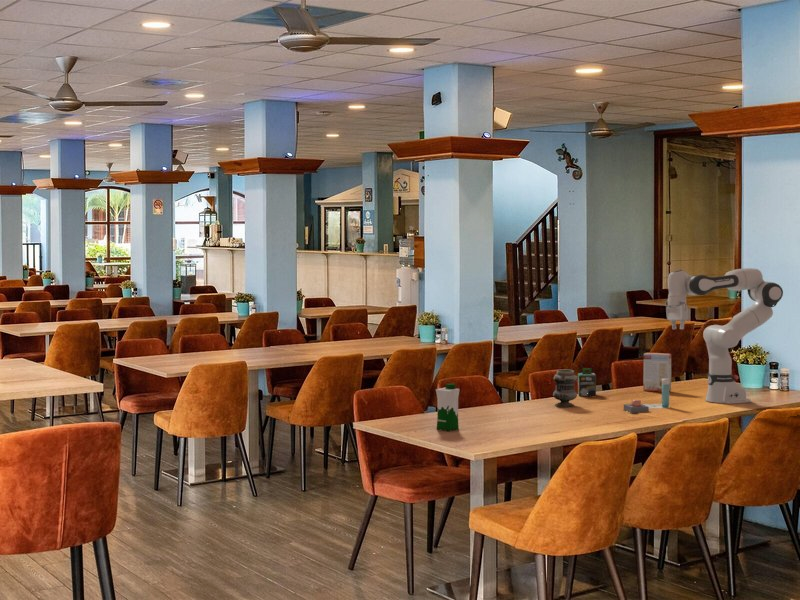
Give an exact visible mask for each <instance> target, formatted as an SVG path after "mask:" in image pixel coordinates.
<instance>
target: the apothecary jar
mask: <svg viewBox="0 0 800 600" xmlns="http://www.w3.org/2000/svg"><path fill="white" fill-rule="evenodd" d="M553 380H554V382H555V390H553V393H552V396H553V397H554V399H555V400H558V401H560V402H557V403H555V404H554V406H555V407H558V408H574V407H575V404H574V403H572V402H570V401H573V400H575V399H576V398H577V397H578V392H577V391H576V390H575V388H576V387H575V386H576V385H575V383H576V382H578V375H576V374H575V370H573V369H564V368H563V369H557V370H556V373H555V374H554V375H553Z"/></svg>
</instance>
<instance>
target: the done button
mask: <svg viewBox="0 0 800 600" xmlns="http://www.w3.org/2000/svg"><path fill="white" fill-rule="evenodd" d="M630 404H631V406H633V407H636V406H641V404H642V400H640V399H632V400H631V402H630Z"/></svg>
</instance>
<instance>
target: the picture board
mask: <svg viewBox="0 0 800 600" xmlns="http://www.w3.org/2000/svg"><path fill="white" fill-rule="evenodd" d="M643 405H645V406H648V407H649V410H651V409H653V410H654V409H664V408H663V407H662V403H643ZM667 409H672V407H670V406H669V407H668V408H667Z"/></svg>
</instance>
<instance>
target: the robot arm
mask: <svg viewBox="0 0 800 600" xmlns="http://www.w3.org/2000/svg"><path fill="white" fill-rule="evenodd" d="M667 277H668V278H667V290H668V295H667V300H665V303H664V305H665V312H666V319H667V321H670V324H671V327H672V330H677V329H678V328H677V324H676V323H677V321H679V323H680V324H679V330H684V329H685V323H686V321H688V320H689V318H690V315H689V307H688V304H687V295H688V296H705V295H708V294H709V293H710V292H712V291H715V290H722V289H727V290H728V291H736V292H737V291H739V292H740V291H745V290H747V295H748V297H749V298H750V299H751V300H752V301H754V302H753V304H752V305H751V306H748V307H747V308H745V309H744V310H742V311H741V312H739V313H736V314H735V315H733V317H732V318H731V320H730V321H729V322H728V323H726V324H724V325H719V324H713V325H712V324H711V325H708V326H707V327H706V328H704V330H703V332H702V333H703V334H702V336H703V339H704V341H705V345H706V349H707V353H708V359H709V360H708V374H707V376H708V377H707V383H708V385H707V393H706V397H705V401H706V402H710V403H711V402H712V403H716V404H728V405H731V404H733V405H734V404H743V403H751V399H750V398H748V397H747V391H746V389H745V388H744V387H743V386H741V385H740V384H739V383H738V382H736V380H738V379H739V376H738V375H737V374H735V375H734V374H732V371H733V370H732V366H733V365H732V363H733V362H732V357H731V355H730V351H729V349H731V348H734V347H736V346H738V344H739V343H740V342H739V341H740V340H741V339H743V338H744V337H745V336H746V335H748V334H749V333H752V332H753V331H755V329H758V328H759V327H760V326H762V325H764V324H765V323H767V321H769V320H770V319H771V318H772V317H773V315H774V310H773V308H774V307H776V306H777V304H778V303H779V302H780V301H781V299H782V297H783V295H784V291H783V287H782V286H781V285H780V284H778V283H776V282H773V281H772V282H771V281H765V280H764V279H763V277H764V276H763V274H762V272H761V270H760V269H757V268H749V267H748V268H745V267H744V268H737V269H736V268H735V269H733V270H729V271H727V272H726V273H725V274H724V275H720V276H715V277H714V276H713V277H711V276H708V275H703V274H700V275H697V276H694V275H691V274H689V273H687V272H685V270H682V269H678V270H673V271H671V272H670V273H668V276H667Z"/></svg>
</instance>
